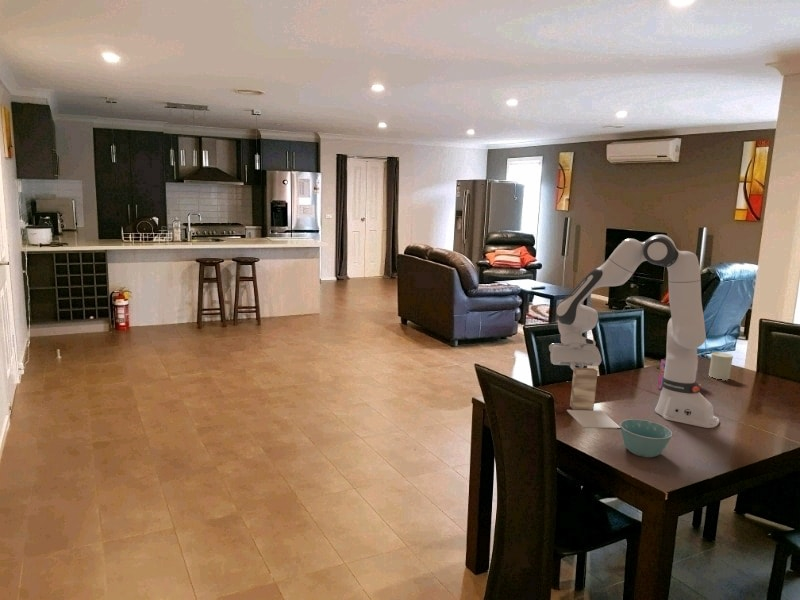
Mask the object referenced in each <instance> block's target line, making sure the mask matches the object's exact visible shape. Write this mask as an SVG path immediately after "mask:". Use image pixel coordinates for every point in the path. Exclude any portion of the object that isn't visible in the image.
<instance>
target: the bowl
mask: <svg viewBox="0 0 800 600" xmlns="http://www.w3.org/2000/svg"><path fill="white" fill-rule="evenodd" d="M619 426H620V427H621V429H620V430H621V431H620V432H621V436H622V440H623V444H624V446H625V448H626V449H627V450H628V451H629V452H630V453H632V454H633V455H636V456H639V457H643V458H655V457H657V456H660V455H661V454H662V453H663V451H664V449H666V446H667V445H668V443H669V441H670V440H671V439H672V436H673V432H672V431H671V430H670V429H669V428H668V427H666V426H664V425H663V424H660V423H659V422H653V421H650V420H646V419H638V418H637V419H636V418H633V419H632V418H630V419H629V418H628V419H623V420H622V421H621V422H620V423H619Z"/></svg>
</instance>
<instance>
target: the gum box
mask: <svg viewBox="0 0 800 600" xmlns="http://www.w3.org/2000/svg"><path fill="white" fill-rule="evenodd" d="M699 359H700V356H699V355H697V360H698V362H699ZM665 363H666V358H663V359H662V358H661V360H660V368H659V375H658V383H657V389H658V390H660V389H661V382H662V378H663V376H664V371H665ZM698 369H699V363H698V364H697V371H696V378H695V381H696V382H697V378H698V371H699V370H698Z"/></svg>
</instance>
